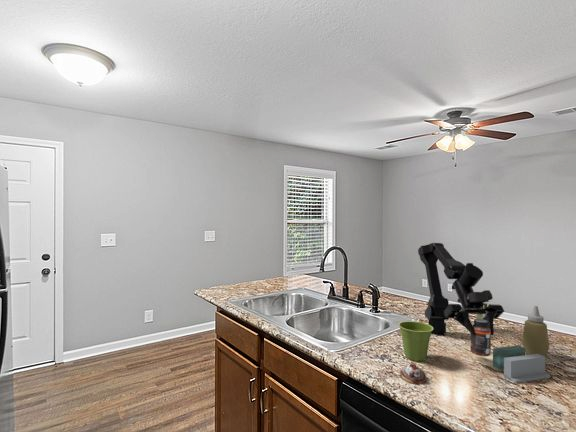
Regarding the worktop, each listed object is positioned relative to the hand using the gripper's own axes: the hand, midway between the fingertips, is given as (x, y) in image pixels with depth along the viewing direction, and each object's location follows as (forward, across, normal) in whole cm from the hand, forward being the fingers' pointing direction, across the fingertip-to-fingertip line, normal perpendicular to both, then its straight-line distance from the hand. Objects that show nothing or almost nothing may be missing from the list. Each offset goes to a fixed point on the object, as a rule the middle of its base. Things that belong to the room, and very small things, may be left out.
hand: (483, 334), depth 109 cm
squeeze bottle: (0, +26, +16) cm, 31 cm away
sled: (+5, +8, +11) cm, 14 cm away
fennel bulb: (-19, +24, +36) cm, 47 cm away
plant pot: (+3, -20, +14) cm, 24 cm away
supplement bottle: (+4, 0, +6) cm, 7 cm away
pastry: (+13, -26, +3) cm, 30 cm away
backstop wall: (+12, +10, +4) cm, 16 cm away
